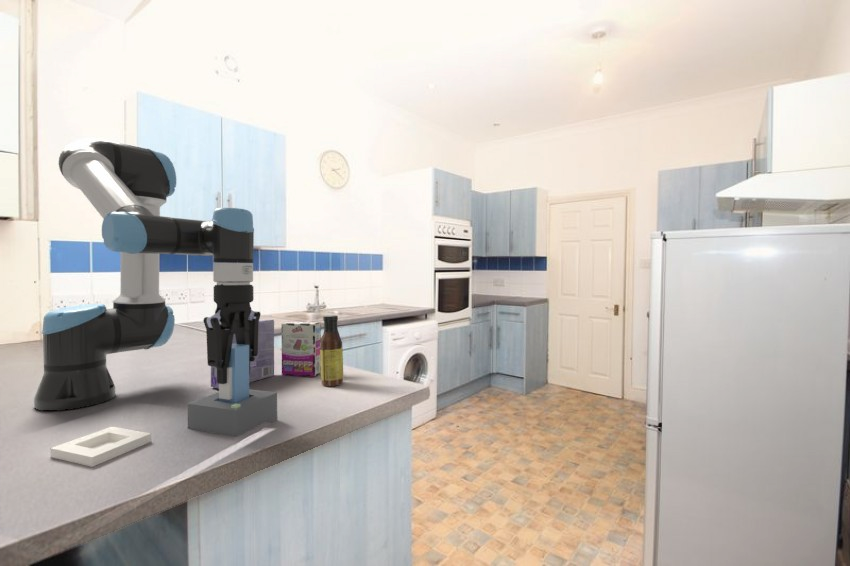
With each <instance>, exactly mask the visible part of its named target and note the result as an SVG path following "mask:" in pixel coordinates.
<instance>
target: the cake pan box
mask: <svg viewBox="0 0 850 566" xmlns="http://www.w3.org/2000/svg"><path fill="white" fill-rule="evenodd" d="M225 330H229V329H225ZM232 344H237V343H236V337H235V334H234V335H233V341H232ZM251 351H252V350H251ZM254 357H255V360H254V361H250V375H249V384H250V383H253V382H256V381H259V380H264V379H266V378H271V377H275V320H274V319H259V323H258V355H257V356H254ZM210 387H211V388H213V389H217V390H219V384H218V383H217V368H216V367H213V366H210Z"/></svg>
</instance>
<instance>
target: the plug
mask: <svg viewBox="0 0 850 566" xmlns="http://www.w3.org/2000/svg"><path fill="white" fill-rule="evenodd" d="M222 361H223V360H222ZM228 367H232V399H230V400H228V399H221V398H220V401H221V402H228V403H237V402H240V401H242V400H245V399H247V398H249V389H250V383H249V345H245V344H232V348H231V355H230V362H229V366H228Z"/></svg>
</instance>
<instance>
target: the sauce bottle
mask: <svg viewBox="0 0 850 566" xmlns="http://www.w3.org/2000/svg"><path fill="white" fill-rule="evenodd" d="M322 319H323V322H324V323H323V324H324V325H323V328H324V329H323V333H322V335H321V341H320V343H321V349H320V354H321V373H320V380H321V385H322V386H324V387H329V386H330V387H337V385H338V386H340V384H341V385H342V384H343V381H344V355H343V354H344V353H343V341H342V338H341V336H340V335H341V334H340V331H339V330H338V320H339V316H338V315H337V314H325V315H323V318H322Z"/></svg>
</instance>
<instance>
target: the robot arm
mask: <svg viewBox="0 0 850 566" xmlns="http://www.w3.org/2000/svg"><path fill="white" fill-rule="evenodd" d="M58 167H59V168H58V169H59V171H60V173H61V175H62V176H63V178H64V179H65V180H66V181H67V183H68V184H70V185H71V186H72V187H74V188H76V189H78V190H80V191H81V192H82V193H83V195H84V196H85V198H87V200H88V202H90V204H91V205H92V207H93V208H94V209H95V210H96V211H97V213H99V215H100V217H101V218H102V219H103V220H102V224H101V237H102V239H103V244H104V246H105V247H106V248H107V250H108V251H111V252H117V253H120V294H119V295H118V296H117V297H116V298H115V299H114V300H113V301H112V308H107V306H106V305H105V304H103V303H91V304H89V303H88V304H81V305H80V304H79V305H73V306H67V307H62V308H57V309H54V310H51V311H49V312H47V313H46V314H45V315H44V316H43V322H42V330H41V334H42V344H43V345H42V348H43V350H42V351H43V374H42V377H41V380H40V383H39V385H38V388H37V391H36V393H35V396H34V398H33V404H34V405H33V406H34V407H35V408H36V409H35V408H34V409H35V410H37V409H38V411H43V410H57V411H66V410H65V409H68V410H74V408H75V409H80V407H81V408H85V406H86V407H90V405H91V406H94V404H95V405H97V404H98V405H99V404H101V402H102V403H104V401H105V402H108V401H109V400H111V399H113V398H115V396H116V385H115V382H114V381H113V378H112V376H111V373H110V372H109V369H108V367H107V355H110V354H117V353H123V352H125V353H126V352H130V351H131V352H132V351H139V350H140V351H141V350H145V351H146V350H150V349H153V348H157V347H158V348H159V347H162V346H164V345H165V344H167V343H168V342H169V340H171V337H172V335H173V332H174V329H175V315H174V310H173V308H172V307H171V306H169V305H167V304H166V299H165V298H164V297H163V296H161V295H160V255H162V254H163V255H184V256H187V255H188V256H198V257H208V256H213V261H212V262H213V267H212V268H213V272H212V273H213V282H214V283H216V284H215V285H214V286H213V302H214V303H215V304H216V308H215V310H214V314H213V315H211V316H210V317H209V316H205V317H204V318H203V324H204V327H205V330H206V331H205V332H206V333H205V334H206V355H207V366H208V367H211V366H213V367H216V368H217V383H218V384H219V389H218V392H219V398H221V399H228V400H230V399H232V367H228V366H229V362H230V355H231V348H232V341H233V335H234V334H235V337H236V343H237V344H245V345H249V375H250V361H254V360H255V357H254V356H257V355H258V323H259V320H261V311H255V310H252V307H251V304H250V303H252V302H254V300H255V299H254V286H253V284H251V283H252V282H254V242H255V241H254V233H255V228H254V219H253V218H254V217H253V216H254V215H253V213H252V212H251V211H250V210H248V209H245V208H237V207H217V208H215V209H214V211H213V213H212V219H211V220H201V219H200V220H199V219H190V218H179V217H170V216H162V215H161V211H160V209H161V207H162V206H163V205H165V204H166V203H167V198H169V197H170V196H172V195H173V194H174V193H175V190H176V189H175V188H176V187H177V174H176V173H177V172H176V168H175V166H174V163H173V162H172V161H171V159H170V158H169V156H168V155H166V154H164V153H163V152H159V151H156V150H152V149H150V148H145V147H139V146H136V145H135V146H134V145H130V144H126V143H125V144H124V143H120V142H116V141H111V140H108V139H104V138H93V137H91V138H82V139H78V140H76V141H74V142H71V143H70V144H68V145H66V146H65V148H63V149H62V150H61V153H60V155H59V157H58ZM225 329H229V330H225ZM251 350H252V351H251ZM222 360H223V361H222Z"/></svg>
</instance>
